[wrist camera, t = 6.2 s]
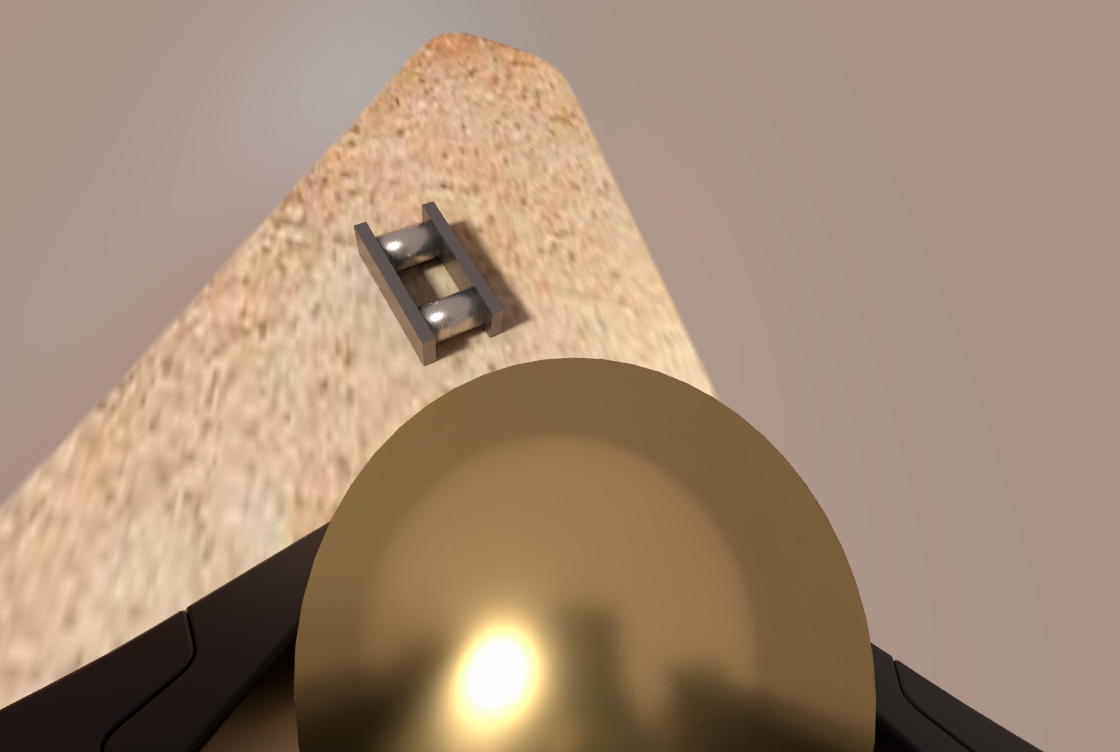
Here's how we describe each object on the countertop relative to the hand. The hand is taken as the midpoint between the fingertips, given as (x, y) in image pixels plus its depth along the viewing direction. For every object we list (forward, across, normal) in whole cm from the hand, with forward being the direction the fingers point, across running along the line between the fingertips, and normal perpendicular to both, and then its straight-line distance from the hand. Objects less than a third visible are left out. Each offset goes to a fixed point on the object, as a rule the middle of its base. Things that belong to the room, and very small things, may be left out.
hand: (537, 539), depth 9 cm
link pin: (+4, 0, +6) cm, 7 cm away
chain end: (+19, +4, 0) cm, 20 cm away
